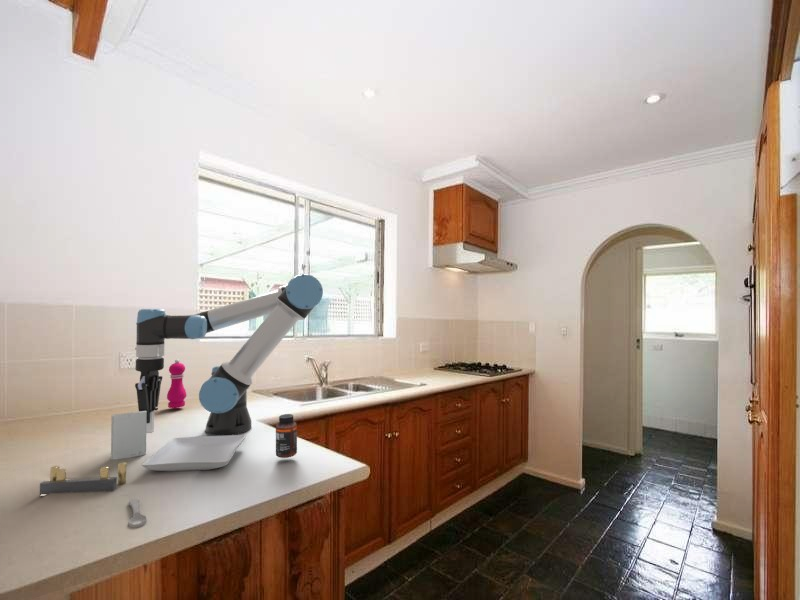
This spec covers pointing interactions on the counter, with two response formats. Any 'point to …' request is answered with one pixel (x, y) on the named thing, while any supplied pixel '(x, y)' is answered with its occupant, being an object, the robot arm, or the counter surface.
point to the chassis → (82, 481)
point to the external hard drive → (128, 435)
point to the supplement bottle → (286, 436)
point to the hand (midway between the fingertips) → (148, 432)
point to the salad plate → (194, 453)
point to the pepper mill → (176, 386)
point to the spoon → (136, 514)
